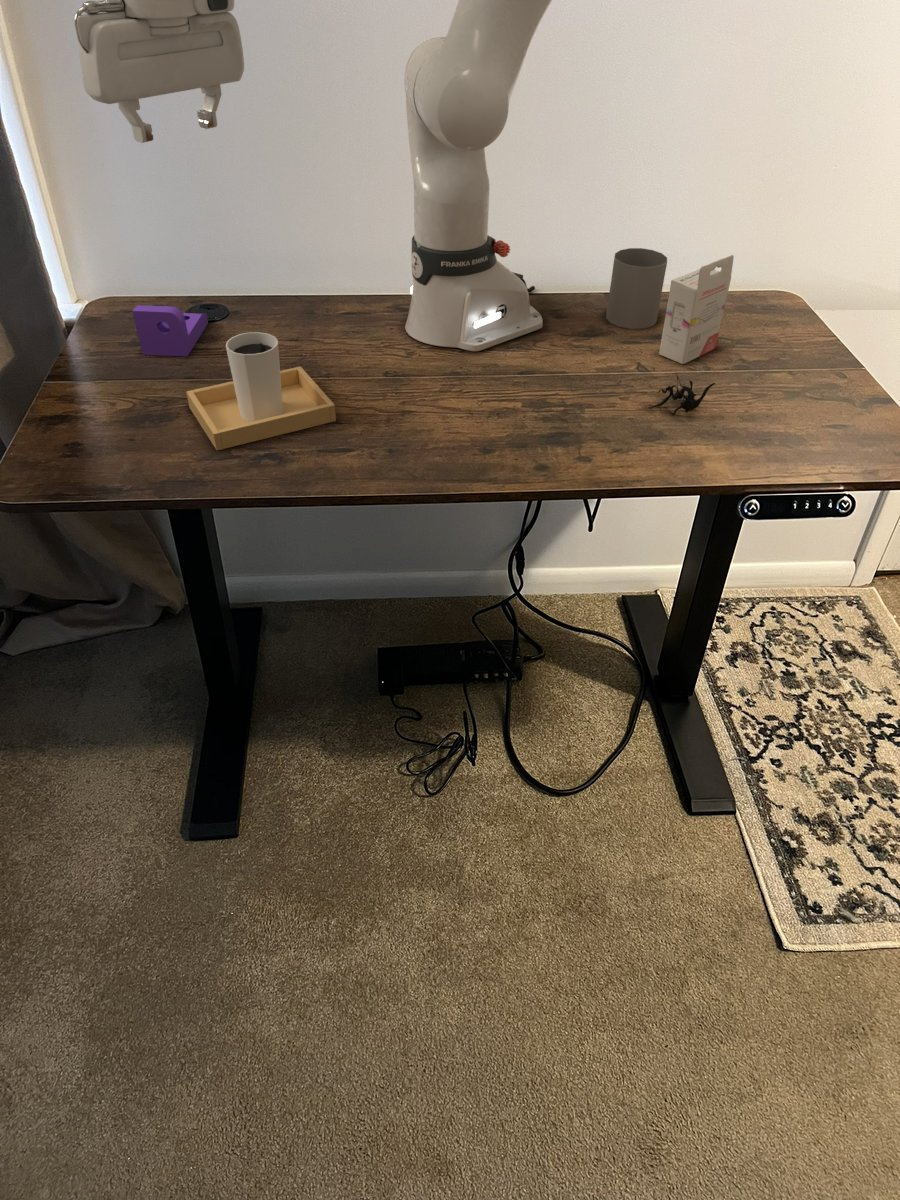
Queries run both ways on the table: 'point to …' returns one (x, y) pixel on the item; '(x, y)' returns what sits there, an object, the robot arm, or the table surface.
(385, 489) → the table surface
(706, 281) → the ink cartridge box
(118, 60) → the robot arm
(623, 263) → the cup
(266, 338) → the white tumbler
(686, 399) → the creature
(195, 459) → the table surface
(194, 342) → the bracket
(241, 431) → the tray
